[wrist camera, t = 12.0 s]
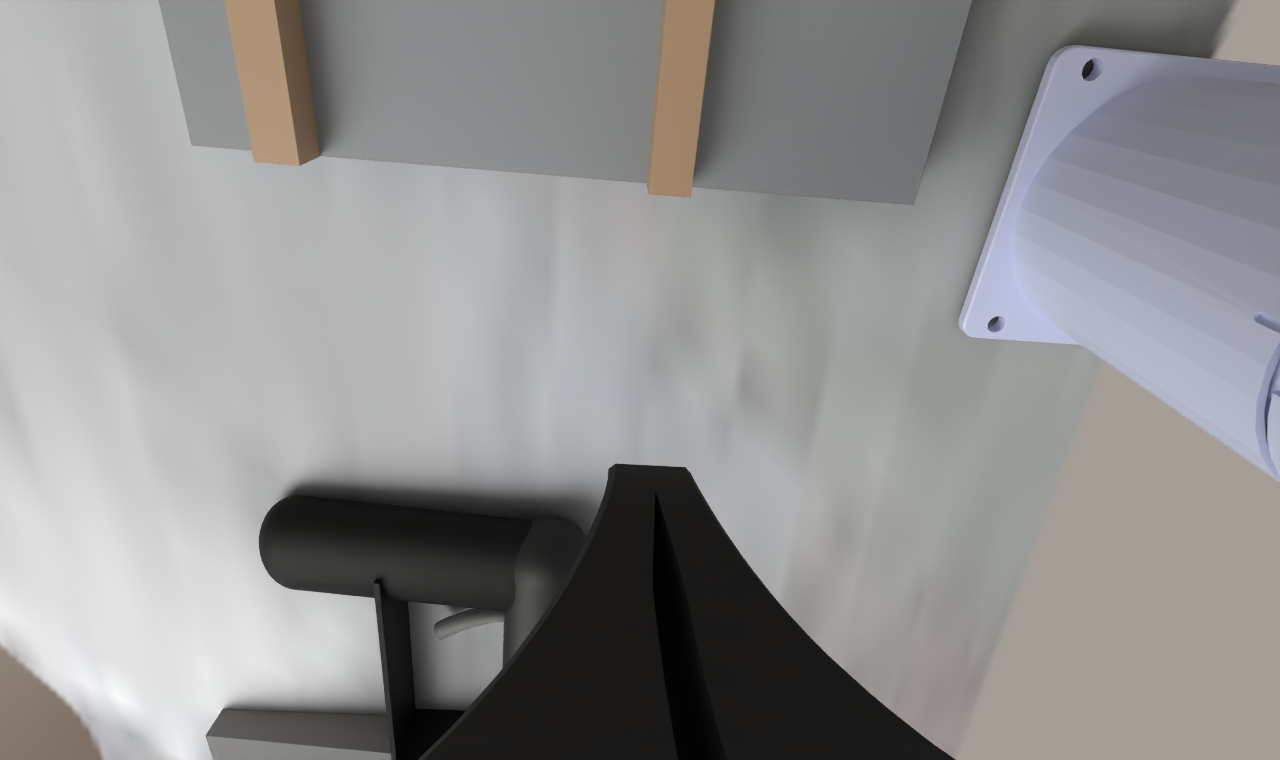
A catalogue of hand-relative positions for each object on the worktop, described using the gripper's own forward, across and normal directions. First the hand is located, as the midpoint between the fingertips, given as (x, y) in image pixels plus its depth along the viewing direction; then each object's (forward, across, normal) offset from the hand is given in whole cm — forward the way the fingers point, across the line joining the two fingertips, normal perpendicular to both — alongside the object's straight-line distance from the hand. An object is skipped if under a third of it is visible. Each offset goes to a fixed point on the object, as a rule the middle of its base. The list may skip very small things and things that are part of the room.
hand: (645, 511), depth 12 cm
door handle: (+10, +8, +18) cm, 22 cm away
